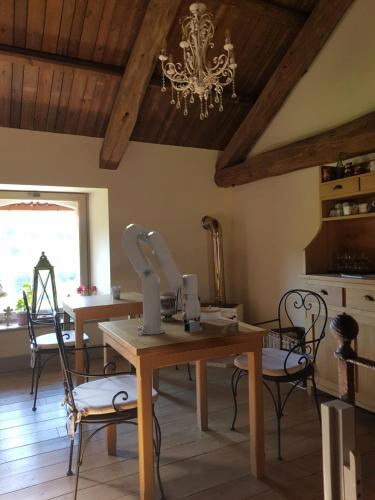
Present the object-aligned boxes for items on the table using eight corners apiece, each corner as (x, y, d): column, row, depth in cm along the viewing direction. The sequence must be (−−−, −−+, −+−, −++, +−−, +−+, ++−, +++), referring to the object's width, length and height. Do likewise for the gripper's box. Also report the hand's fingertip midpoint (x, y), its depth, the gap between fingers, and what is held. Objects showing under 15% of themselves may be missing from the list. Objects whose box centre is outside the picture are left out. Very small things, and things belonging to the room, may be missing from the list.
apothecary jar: (162, 318, 250) (162, 290, 250) (180, 318, 246) (179, 290, 246) (155, 321, 238) (154, 292, 238) (173, 322, 235) (173, 292, 235)
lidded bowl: (206, 327, 218) (205, 307, 218) (195, 323, 229) (195, 305, 229) (225, 324, 224) (224, 305, 224) (214, 321, 235) (213, 303, 235)
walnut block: (221, 335, 199) (220, 326, 199) (201, 331, 209) (201, 322, 209) (238, 331, 208) (238, 322, 208) (219, 327, 219) (219, 318, 219)
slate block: (191, 332, 206) (191, 323, 206) (183, 331, 210) (183, 322, 210) (199, 330, 210) (199, 321, 210) (191, 329, 215) (191, 320, 215)
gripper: (184, 299, 201) (184, 333, 202) (206, 295, 213) (207, 328, 214) (174, 298, 207) (175, 331, 207) (196, 294, 219) (197, 326, 219)
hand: (191, 329), depth 210 cm, fingers closed on slate block, 6 cm apart
